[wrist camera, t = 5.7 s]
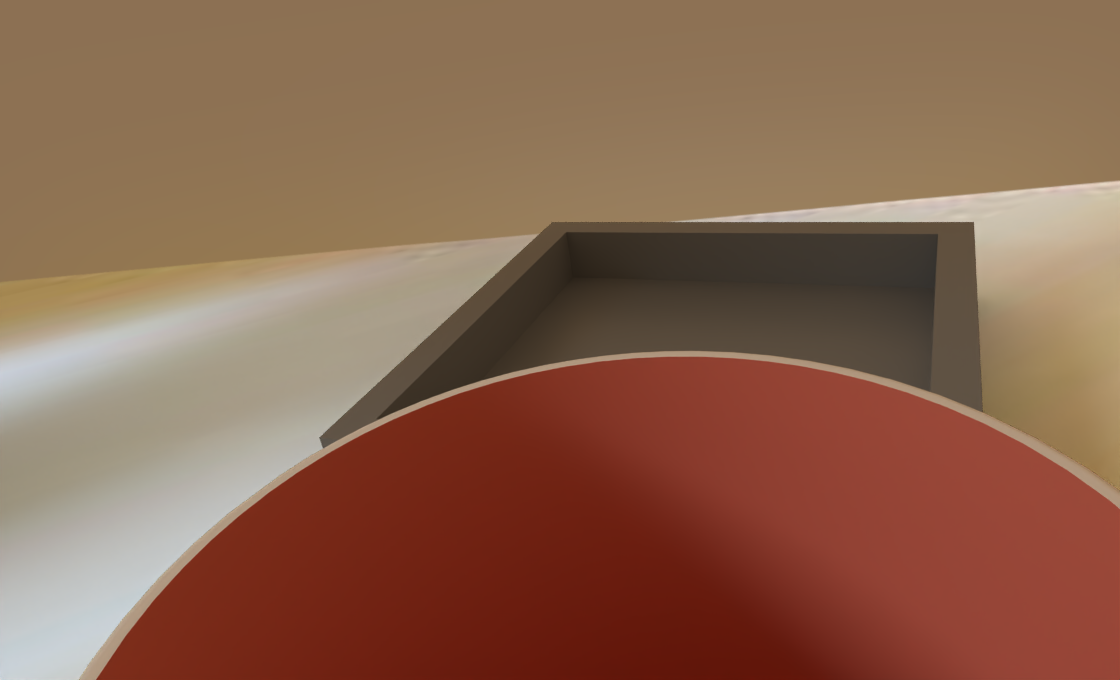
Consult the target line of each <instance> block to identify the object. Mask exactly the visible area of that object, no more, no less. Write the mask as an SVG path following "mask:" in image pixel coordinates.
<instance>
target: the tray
mask: <svg viewBox="0 0 1120 680" xmlns="http://www.w3.org/2000/svg"><path fill="white" fill-rule="evenodd" d="M660 351H712V352H736V353H748V354H759V355H771V356H778V357H785V358H792V359H799V360H807V361H813V362H818V363H823V364H828V365H833V366H838V367H843V368H848V369H853V370H857V371H860V372H864V373H868V374H872V375H876V376H880V377H884V378H888V379H891V380H895V381H898V382H901V383H904V384H907V385H910V386H913V387H916V388H920V389H923V390H926V391H929V392H932V393H935V394H938V395H941V396H943V397H946V398H948V399H951V400H953V401H956V402H958V403H961V404H963V405H966V406H968V407H971V408H973V409H975V410H978V411H980V412H983V409H982V388H981V366H980V345H979V323H978V301H977V280H976V258H975V237H974V222H552V223H551V224H550V225H549V226H548V227H547V228H546V229H545V230H543V231H542V232H541V233H540V234H539V235H538V236H537V237H536V238H535V239H534V240H533V241H532V242H530V243H529V244H528V245H527V246H526V247H525V248H524V249H523V250H522V251H521V252H520V253H519V254H517V255H516V256H515V257H514V258H513V259H512V260H511V261H510V262H509V263H508V264H507V265H506V266H504V267H503V268H502V269H501V270H500V271H499V272H498V273H497V274H496V275H495V276H494V277H493V278H492V279H490V280H489V281H488V282H487V283H486V284H485V285H484V286H483V287H482V288H481V289H480V290H479V291H477V292H476V293H475V294H474V295H473V296H472V297H471V298H470V299H469V300H468V301H467V302H466V303H464V304H463V305H462V306H461V307H460V308H459V309H458V310H457V311H456V312H455V313H454V314H453V315H451V316H450V317H449V318H448V319H447V320H446V321H445V322H444V323H443V324H442V325H441V326H440V327H438V328H437V329H436V330H435V331H434V332H433V333H432V334H431V335H430V336H429V337H428V338H427V339H426V340H424V341H423V342H422V343H421V344H420V345H419V346H418V347H417V348H416V349H415V350H414V351H413V352H411V353H410V354H409V355H408V356H407V357H406V358H405V359H404V360H403V361H402V362H401V363H400V364H398V365H397V366H396V367H395V368H394V369H393V370H392V371H391V372H390V373H389V374H388V375H387V376H385V377H384V378H383V379H382V380H381V381H380V382H379V383H378V384H377V385H376V386H375V387H374V388H372V389H371V390H370V391H369V392H368V393H367V394H366V395H365V396H364V397H363V398H362V399H361V400H359V401H358V402H357V403H356V404H355V405H354V406H353V407H352V408H351V409H350V410H349V411H348V412H347V413H345V414H344V415H343V416H342V417H341V418H340V419H339V420H338V421H337V422H336V423H335V424H334V425H332V426H331V427H330V428H329V429H328V430H327V431H326V432H325V433H324V434H323V435H322V436H321V437H319V438H320V441H321V443H322V446H323V448H325V447H327V446H329V445H330V444H332V443H334V442H336V441H337V440H339V439H341V438H343V437H345V436H347V435H349V434H351V433H353V432H355V431H357V430H358V429H360V428H362V427H364V426H366V425H369V424H371V423H373V422H375V421H377V420H379V419H381V418H383V417H386V416H388V415H390V414H392V413H394V412H397V411H399V410H402V409H404V408H406V407H409V406H411V405H414V404H416V403H418V402H421V401H423V400H426V399H429V398H432V397H434V396H437V395H440V394H443V393H445V392H448V391H451V390H454V389H457V388H460V387H463V386H466V385H469V384H473V383H476V382H479V381H482V380H486V379H489V378H493V377H497V376H501V375H504V374H508V373H512V372H516V371H520V370H525V369H529V368H534V367H538V366H543V365H548V364H554V363H559V362H565V361H570V360H577V359H584V358H591V357H598V356H607V355H617V354H628V353H641V352H660Z"/></svg>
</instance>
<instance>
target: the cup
mask: <svg viewBox="0 0 1120 680" xmlns="http://www.w3.org/2000/svg"><path fill="white" fill-rule="evenodd" d="M79 680H1120V491H1119V490H1118V489H1117V488H1115V487H1114V486H1112V485H1111V484H1109V483H1108V482H1107V481H1105V480H1104V479H1102V478H1101V477H1099V476H1098V475H1097V474H1095V473H1094V472H1092V471H1091V470H1089V469H1088V468H1086V467H1085V466H1083V465H1081V464H1080V463H1078V462H1076V461H1074V460H1073V459H1071V458H1069V457H1068V456H1066V455H1064V454H1062V453H1061V452H1059V451H1057V450H1056V449H1054V448H1052V447H1051V446H1049V445H1047V444H1045V443H1044V442H1042V441H1040V440H1039V439H1037V438H1035V437H1033V436H1031V435H1029V434H1027V433H1025V432H1023V431H1020V430H1018V429H1016V428H1014V427H1012V426H1010V425H1008V424H1006V423H1004V422H1002V421H1000V420H998V419H996V418H994V417H992V416H990V415H988V414H985V413H983V412H980V411H978V410H975V409H973V408H971V407H968V406H966V405H963V404H961V403H958V402H956V401H953V400H951V399H948V398H946V397H943V396H941V395H938V394H935V393H932V392H929V391H926V390H923V389H920V388H916V387H913V386H910V385H907V384H904V383H901V382H898V381H895V380H891V379H888V378H884V377H880V376H876V375H872V374H868V373H864V372H860V371H857V370H853V369H848V368H843V367H838V366H833V365H828V364H823V363H818V362H813V361H807V360H799V359H792V358H785V357H778V356H771V355H759V354H748V353H736V352H712V351H660V352H641V353H628V354H617V355H607V356H598V357H591V358H584V359H577V360H570V361H565V362H559V363H554V364H548V365H543V366H538V367H534V368H529V369H525V370H520V371H516V372H512V373H508V374H504V375H501V376H497V377H493V378H489V379H486V380H482V381H479V382H476V383H473V384H469V385H466V386H463V387H460V388H457V389H454V390H451V391H448V392H445V393H443V394H440V395H437V396H434V397H432V398H429V399H426V400H423V401H421V402H418V403H416V404H414V405H411V406H409V407H406V408H404V409H402V410H399V411H397V412H394V413H392V414H390V415H388V416H386V417H383V418H381V419H379V420H377V421H375V422H373V423H371V424H369V425H366V426H364V427H362V428H360V429H358V430H357V431H355V432H353V433H351V434H349V435H347V436H345V437H343V438H341V439H339V440H337V441H336V442H334V443H332V444H330V445H329V446H327V447H325V448H323V449H322V450H320V451H318V452H317V453H315V454H313V455H311V456H310V457H308V458H306V459H305V460H303V461H302V462H300V463H299V464H297V465H295V466H294V467H292V468H291V469H289V470H288V471H286V472H285V473H283V474H281V475H280V476H279V477H277V478H276V479H274V480H273V481H272V482H270V483H269V484H268V485H266V486H265V487H264V488H262V489H261V490H260V491H258V492H257V493H256V494H254V495H253V496H252V497H250V498H249V499H247V500H246V501H245V502H243V503H242V504H241V505H239V506H238V507H237V508H235V509H234V510H233V511H231V512H230V513H229V514H227V515H226V516H225V517H224V518H223V519H222V520H220V521H219V522H218V523H217V524H216V525H215V526H214V527H212V528H211V529H210V530H209V531H208V532H207V533H205V534H204V535H203V536H202V537H201V538H200V539H198V540H197V541H196V542H195V543H194V544H193V545H192V546H191V547H190V548H189V549H188V550H187V551H186V552H185V553H184V554H183V555H182V556H181V557H180V558H179V559H178V560H177V561H176V562H175V563H174V564H173V565H172V566H171V567H170V568H169V569H168V570H166V571H165V572H164V573H163V574H162V575H161V576H160V577H159V578H158V580H157V581H156V582H155V583H154V584H153V585H152V586H151V587H150V589H149V590H148V591H147V592H146V593H145V594H144V595H143V597H142V598H141V599H140V600H139V601H138V602H137V603H136V604H135V606H134V607H133V608H132V609H131V610H130V611H129V612H128V614H127V615H126V616H125V617H124V618H123V619H122V621H121V622H120V623H119V625H118V626H117V627H116V629H115V630H114V631H113V633H112V634H111V635H110V637H109V638H108V639H107V641H106V642H105V643H104V644H103V646H102V647H101V648H100V650H99V651H98V652H97V654H96V655H95V656H94V658H93V659H92V660H91V662H90V663H89V664H88V666H87V667H86V669H85V671H84V672H83V674H82V675H81V677H80V679H79Z"/></svg>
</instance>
